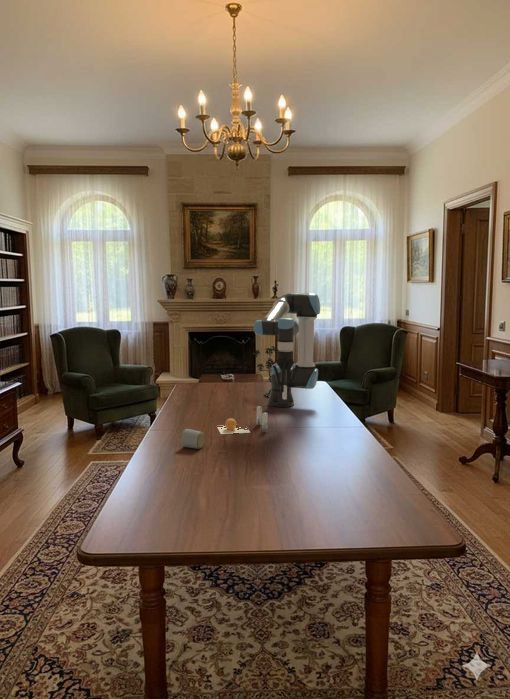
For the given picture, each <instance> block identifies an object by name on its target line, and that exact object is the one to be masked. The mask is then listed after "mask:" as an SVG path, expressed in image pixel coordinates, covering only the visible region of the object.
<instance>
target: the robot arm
mask: <svg viewBox="0 0 510 699" xmlns="http://www.w3.org/2000/svg"><path fill="white" fill-rule="evenodd" d="M287 314H296V318H297V320H298V322H297V321H295V319H294V318H292V317H284V316H286V315H287ZM320 314H321V302H320V297H319V295H318V294H317V293H311V292H296V293H295V292H290V293H289V292H288V293H286V294H283V295H281V296H279V297H278V298H277V299H276V300H274V302H273V303H272V307H271V309H270V310H269V311H268V313H267V314H266V315H265V316H264V317H263V319H256V320H255V321H254V323H253V332H254V334H255V335H256V336H271V337H272V336H274V337H275V336H277V357H276V358H277V360H276V364H274V365H272V364H271V365H272V368H271V369H272V372H271V371H270V372H271V373H270V375H271V382H270V383H271V384H270V385H271V386H270V389H271V393H270V396H269V398H268V399H267V405H268V404H269V405H268V406H270V405H272V406H271V407H273V406H276V407H275V408H289V406H290V407H294V404H295V402H294V396H293V393H292V388H293V389H305V390H307V389H309V390H310V389H311V390H312V389H314V388H315V387H316V386H317V382H318V377H319V369H318V368H316V364H315V362H314V337H315V336H314V335H315V332H314V331H315V320H316V319H317V318H318V315H320ZM297 334H298V342H297V345H298V346H297V362H296V363H295V361H294V337H295V336H296V335H297Z"/></svg>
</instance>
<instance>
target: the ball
mask: <svg viewBox="0 0 510 699" xmlns="http://www.w3.org/2000/svg"><path fill="white" fill-rule="evenodd" d="M224 425H225V427H226V428H227V429H228V430H234V429H235V428H236V425H238V424H237V421H236V420H235V419H234V418H227V419H226V420H225V422H224Z"/></svg>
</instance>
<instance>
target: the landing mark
mask: <svg viewBox="0 0 510 699" xmlns="http://www.w3.org/2000/svg"><path fill="white" fill-rule="evenodd" d="M222 426H223V427H217V426H216V427H217V430H218V431H219V434H220V435H234V434H233V433H239V434H250V433H251V431H250V430H249V429H248V430H244V429H239V430H237V429H238V428H235V429H234V430H227V428H224V427H225V426H224V425H222ZM221 428H222V429H221ZM239 428H241V427H239ZM247 428H248V427H247ZM247 428H245V429H247Z"/></svg>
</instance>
